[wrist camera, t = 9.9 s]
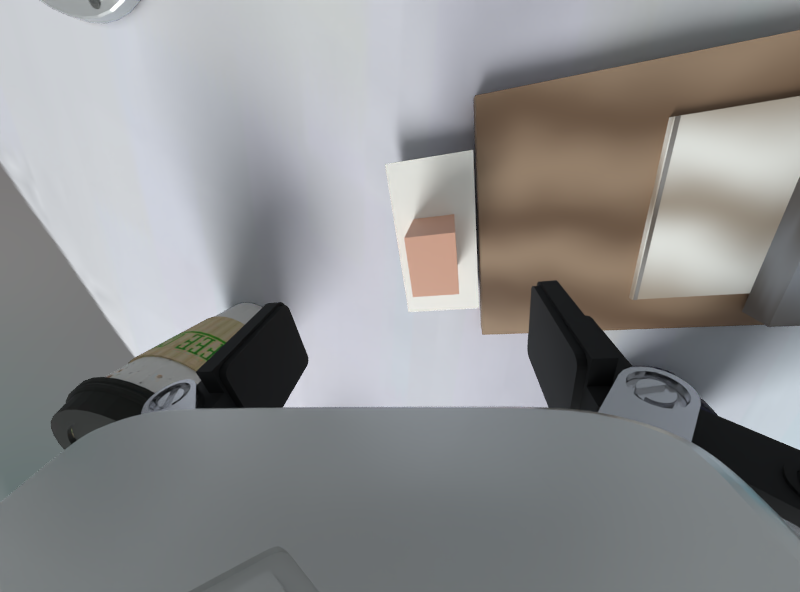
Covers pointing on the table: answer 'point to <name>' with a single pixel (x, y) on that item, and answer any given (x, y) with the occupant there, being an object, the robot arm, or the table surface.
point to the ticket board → (646, 191)
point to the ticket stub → (436, 230)
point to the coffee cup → (145, 376)
